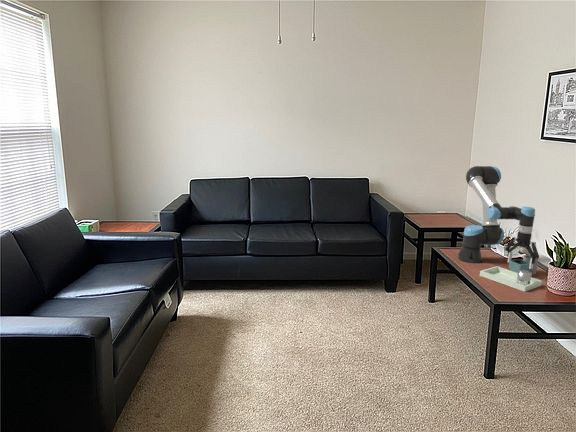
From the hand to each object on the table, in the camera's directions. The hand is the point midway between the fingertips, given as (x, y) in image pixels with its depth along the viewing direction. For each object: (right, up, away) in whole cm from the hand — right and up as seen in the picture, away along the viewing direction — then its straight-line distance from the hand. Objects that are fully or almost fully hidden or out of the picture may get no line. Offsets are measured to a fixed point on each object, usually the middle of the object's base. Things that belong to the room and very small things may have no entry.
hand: (519, 265), depth 273 cm
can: (-7, -10, -17) cm, 20 cm away
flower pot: (0, -7, +2) cm, 7 cm away
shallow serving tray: (-11, -9, -10) cm, 18 cm away
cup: (+11, -5, +9) cm, 15 cm away
